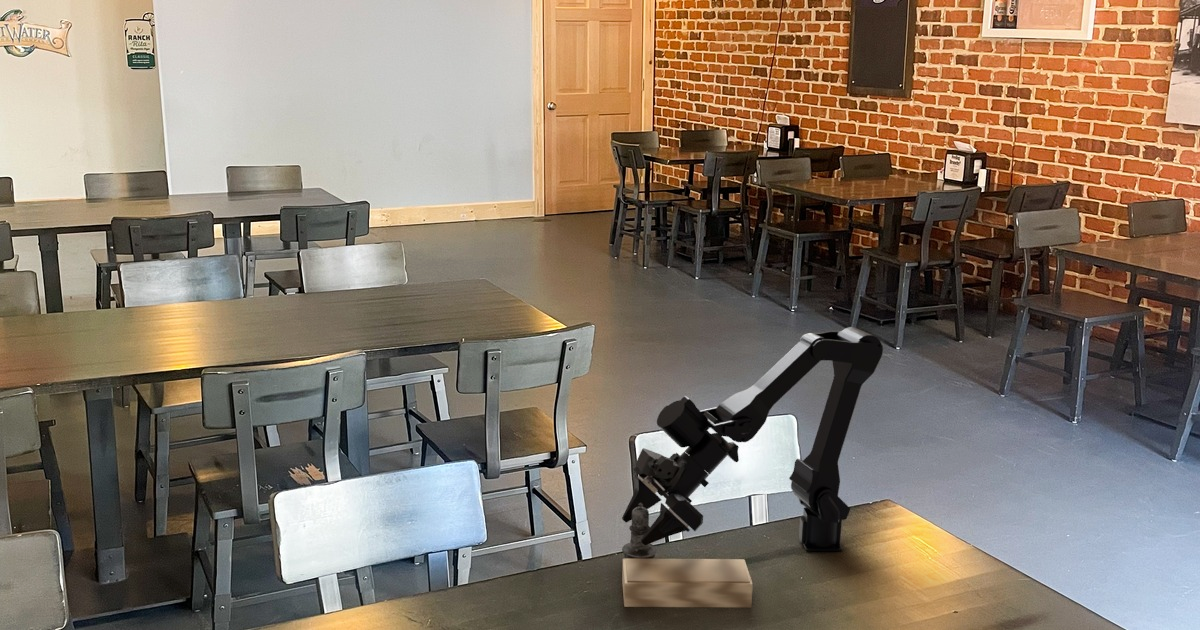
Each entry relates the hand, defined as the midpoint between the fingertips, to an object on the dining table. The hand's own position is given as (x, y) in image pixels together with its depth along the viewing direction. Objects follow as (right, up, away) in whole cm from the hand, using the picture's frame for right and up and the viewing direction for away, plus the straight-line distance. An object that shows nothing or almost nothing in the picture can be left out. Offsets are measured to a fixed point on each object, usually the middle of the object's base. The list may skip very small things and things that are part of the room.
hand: (633, 531), depth 179 cm
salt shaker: (+1, -7, +2) cm, 7 cm away
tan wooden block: (+8, -9, -6) cm, 14 cm away
